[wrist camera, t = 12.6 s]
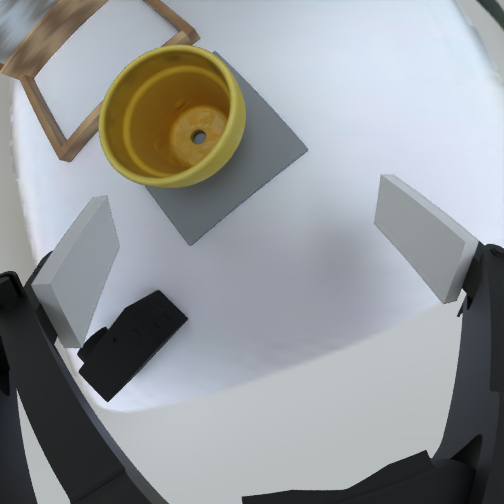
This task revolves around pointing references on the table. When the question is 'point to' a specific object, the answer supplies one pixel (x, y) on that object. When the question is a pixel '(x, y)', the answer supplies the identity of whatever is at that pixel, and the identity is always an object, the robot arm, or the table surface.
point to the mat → (233, 169)
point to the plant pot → (172, 117)
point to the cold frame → (47, 43)
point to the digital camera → (128, 343)
